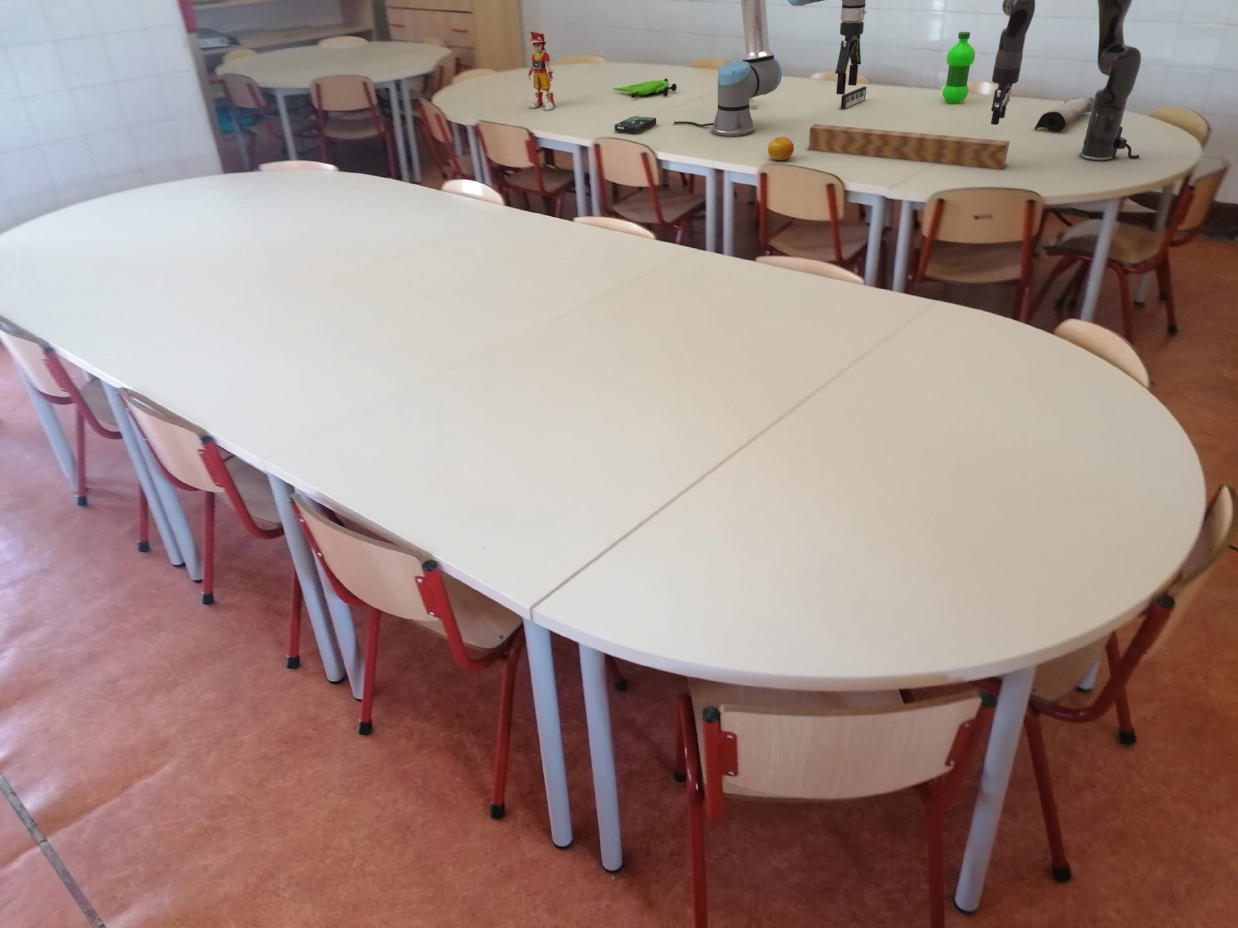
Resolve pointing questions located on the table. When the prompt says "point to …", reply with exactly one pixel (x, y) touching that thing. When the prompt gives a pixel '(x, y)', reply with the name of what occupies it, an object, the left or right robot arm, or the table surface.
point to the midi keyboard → (853, 97)
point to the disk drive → (635, 124)
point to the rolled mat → (1065, 114)
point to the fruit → (780, 148)
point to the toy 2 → (648, 88)
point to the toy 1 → (541, 71)
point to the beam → (909, 146)
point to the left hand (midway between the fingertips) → (846, 89)
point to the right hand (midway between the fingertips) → (997, 121)
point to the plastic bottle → (958, 69)
